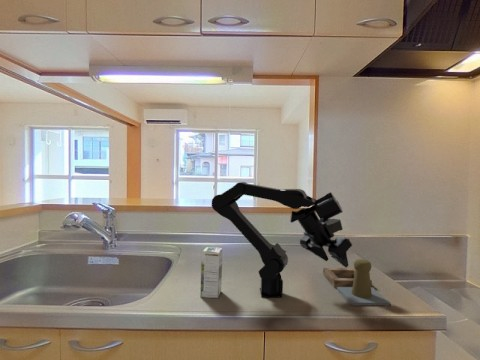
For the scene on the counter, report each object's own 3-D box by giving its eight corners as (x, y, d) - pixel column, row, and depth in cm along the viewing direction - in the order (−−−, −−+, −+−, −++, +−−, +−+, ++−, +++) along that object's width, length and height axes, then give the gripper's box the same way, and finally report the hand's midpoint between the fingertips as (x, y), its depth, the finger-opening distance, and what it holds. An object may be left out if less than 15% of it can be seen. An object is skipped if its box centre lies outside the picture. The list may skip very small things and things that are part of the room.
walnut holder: (334, 287, 104) (334, 280, 104) (323, 274, 117) (323, 267, 117) (371, 287, 105) (371, 280, 105) (356, 274, 118) (356, 268, 118)
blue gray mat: (350, 305, 91) (350, 302, 91) (337, 289, 103) (337, 286, 103) (390, 305, 91) (390, 302, 91) (372, 289, 103) (372, 287, 103)
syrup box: (204, 290, 100) (204, 246, 100) (222, 291, 100) (222, 247, 99) (200, 297, 95) (200, 251, 94) (218, 298, 94) (219, 252, 93)
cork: (355, 288, 102) (356, 256, 101) (374, 293, 98) (375, 259, 97) (348, 294, 97) (349, 260, 96) (368, 299, 93) (369, 264, 93)
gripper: (350, 211, 88) (374, 251, 92) (310, 207, 105) (332, 242, 109) (325, 236, 85) (352, 277, 88) (289, 228, 102) (312, 263, 105)
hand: (336, 263), depth 98 cm, fingers open, 9 cm apart
